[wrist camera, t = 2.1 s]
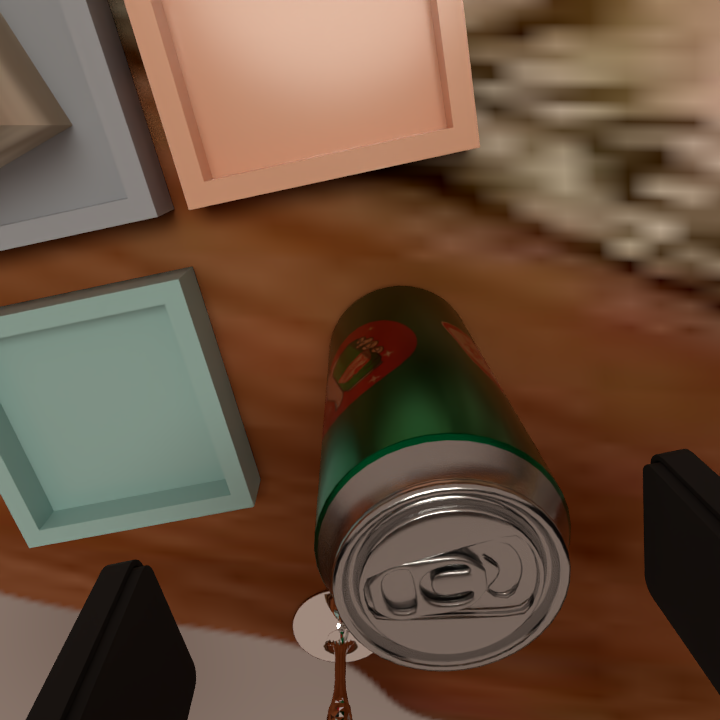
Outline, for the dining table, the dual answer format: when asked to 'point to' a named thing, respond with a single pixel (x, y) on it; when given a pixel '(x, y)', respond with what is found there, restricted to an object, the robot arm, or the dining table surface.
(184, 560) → the dining table surface
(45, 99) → the letter cube
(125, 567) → the robot arm
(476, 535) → the soda can
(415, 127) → the tray terracotta
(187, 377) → the tray teal
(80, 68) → the tray slate
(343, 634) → the wineglass
